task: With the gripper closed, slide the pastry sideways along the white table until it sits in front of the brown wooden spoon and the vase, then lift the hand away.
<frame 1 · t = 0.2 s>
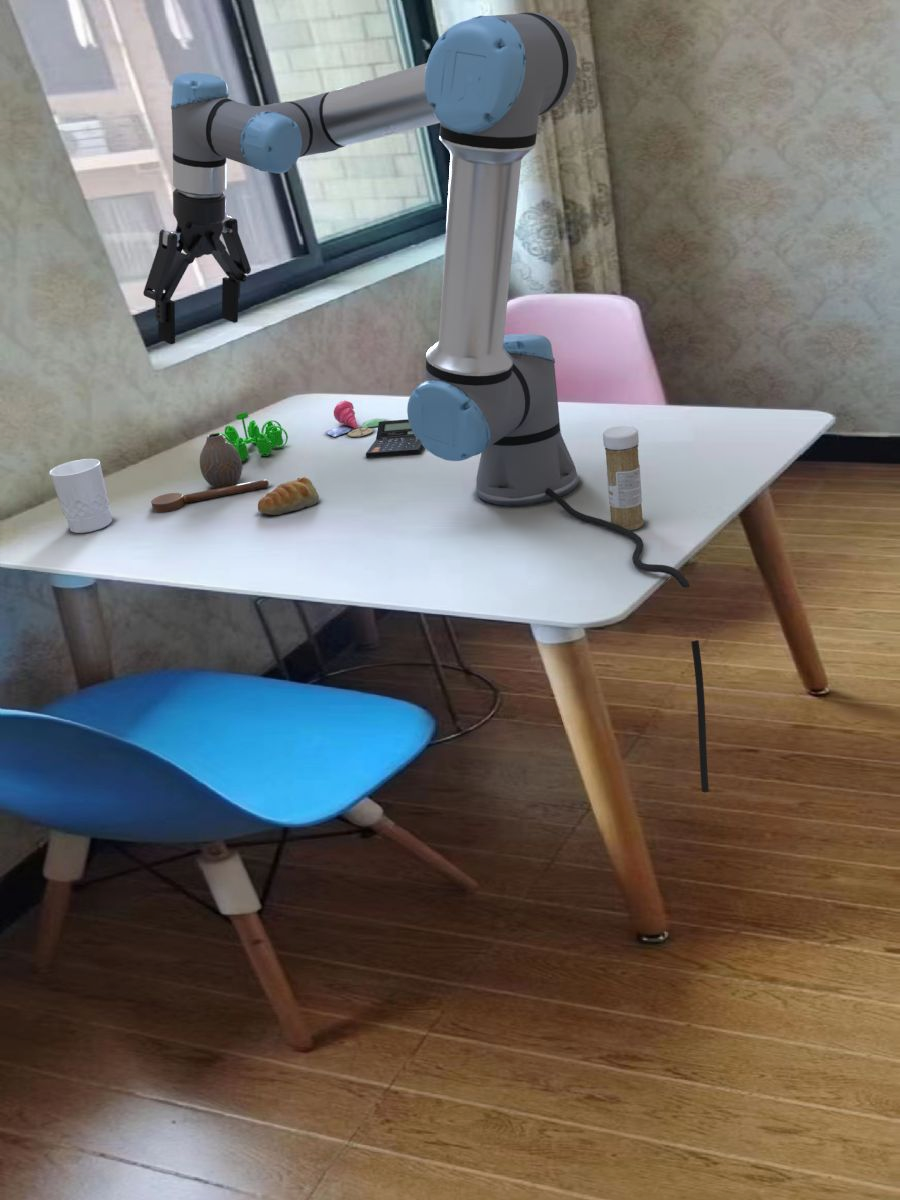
hand: (199, 330, 178), 27 cm above the table, tool tilted 20°, fingers open, 13 cm apart
wooden spoon: (208, 498, 190), on the table
calculator: (400, 446, 203), on the table
vase: (225, 485, 196), on the table
white cup: (91, 526, 186), on the table
chandelier: (250, 452, 212), on the table
toy pieces: (355, 429, 216), on the table
sprinkles bottle: (627, 527, 155), on the table
pastry: (292, 507, 181), on the table
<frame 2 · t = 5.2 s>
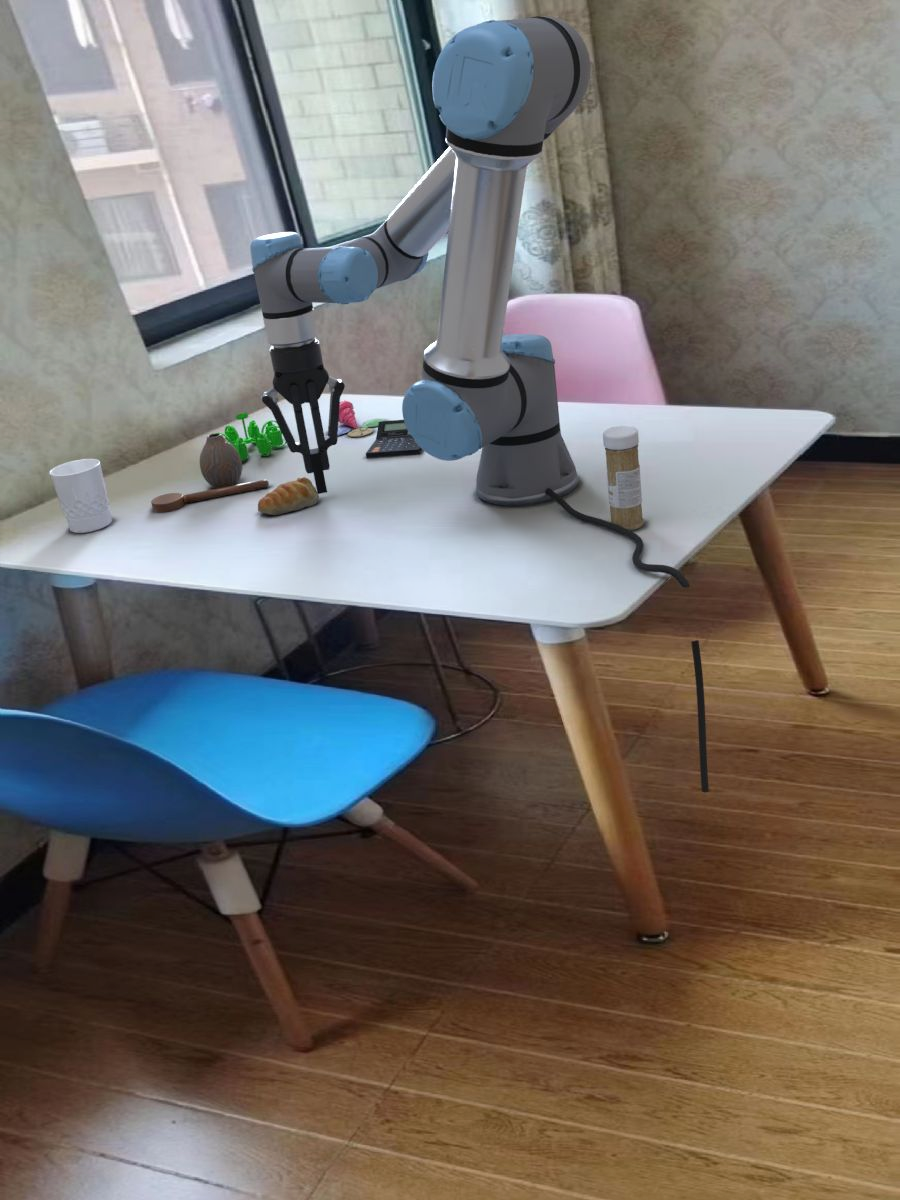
hand: (321, 490, 181), 2 cm above the table, tool pointing down, fingers closed
pastry: (292, 507, 181), on the table, touching gripper
everything else where it was.
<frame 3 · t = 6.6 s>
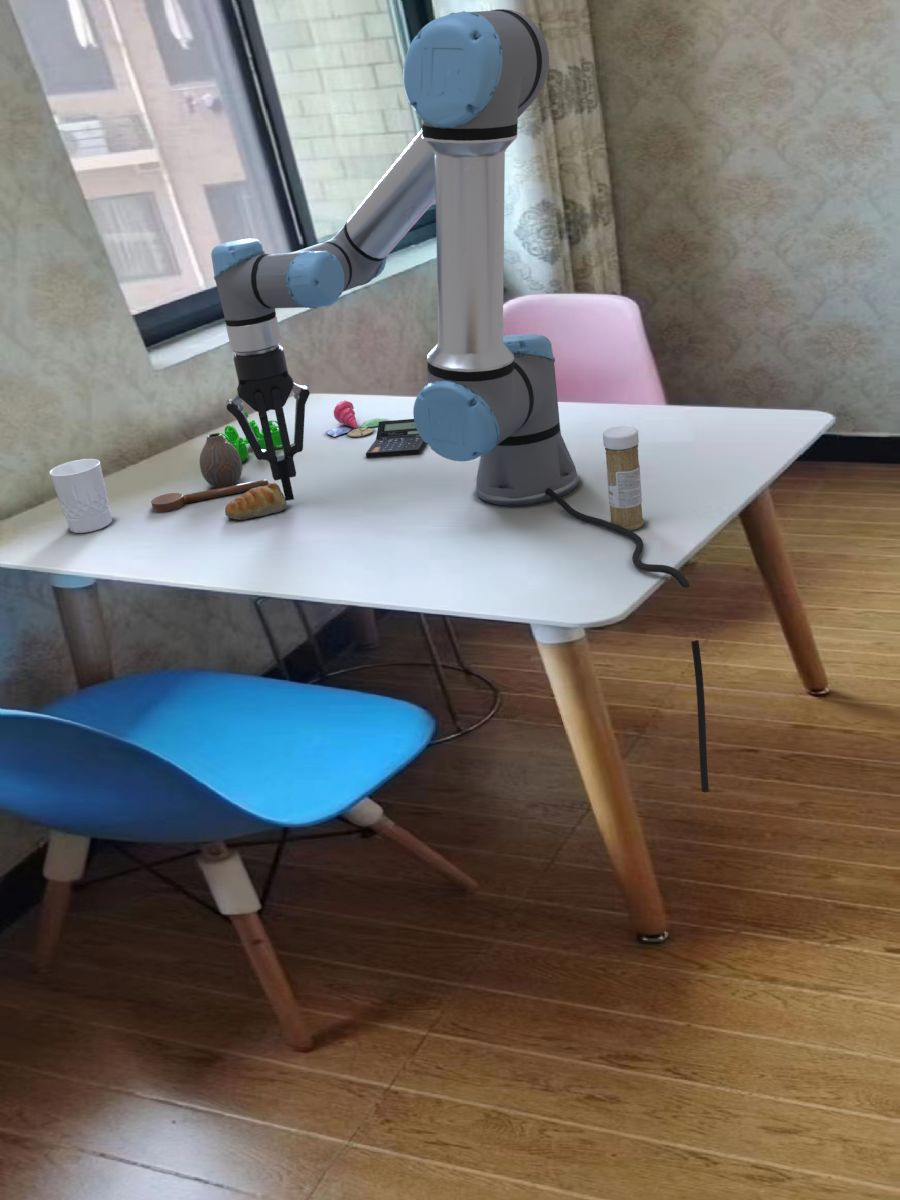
hand: (289, 497, 181), 1 cm above the table, tool pointing down, fingers closed
pastry: (260, 512, 181), on the table, touching gripper
everything else where it was.
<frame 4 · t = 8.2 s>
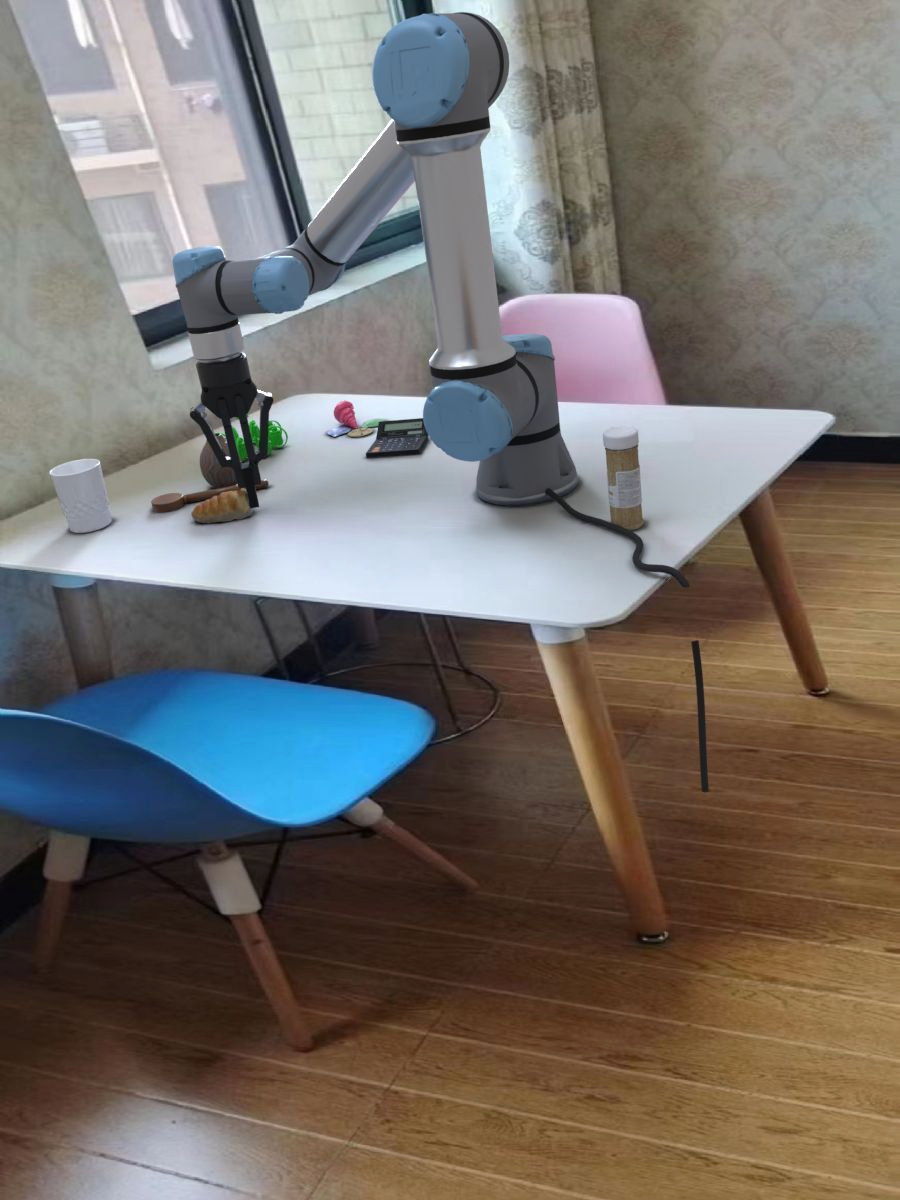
hand: (254, 504, 180), 1 cm above the table, tool pointing down, fingers closed
pastry: (228, 517, 181), on the table, touching gripper
everything else where it was.
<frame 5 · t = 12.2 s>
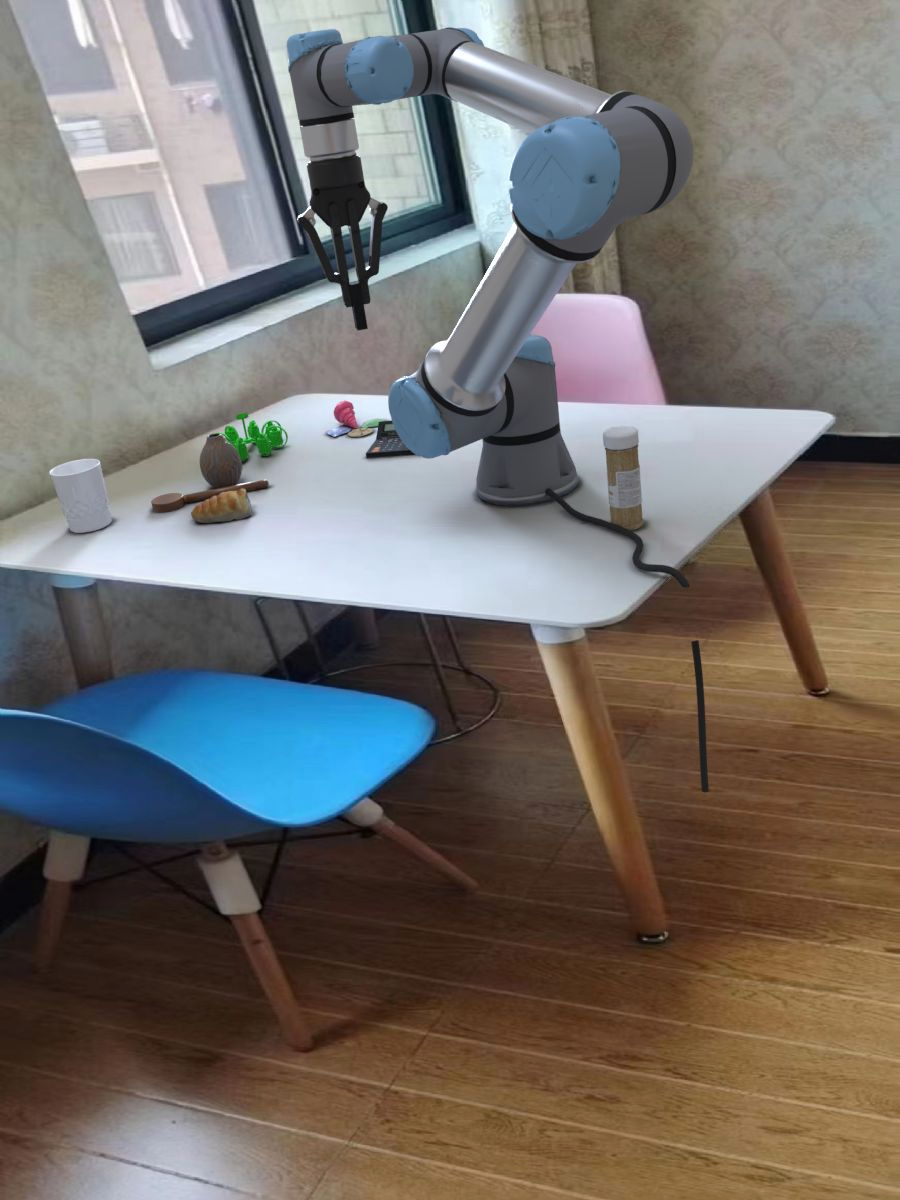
hand: (361, 327, 167), 26 cm above the table, tool pointing down, fingers closed
pastry: (227, 517, 181), on the table
everything else where it was.
at the end: pastry inside the target area (2.4 cm from its centre), on the table; vase moved 0.2 cm from its start; wooden spoon moved 0.0 cm from its start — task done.
